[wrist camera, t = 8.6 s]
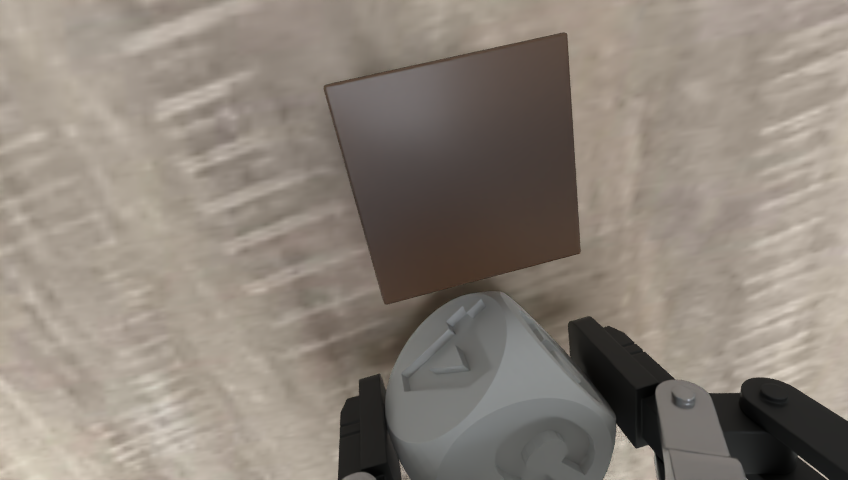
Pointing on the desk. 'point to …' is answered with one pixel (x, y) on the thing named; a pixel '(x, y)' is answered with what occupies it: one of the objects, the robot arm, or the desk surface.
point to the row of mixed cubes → (462, 165)
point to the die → (494, 399)
